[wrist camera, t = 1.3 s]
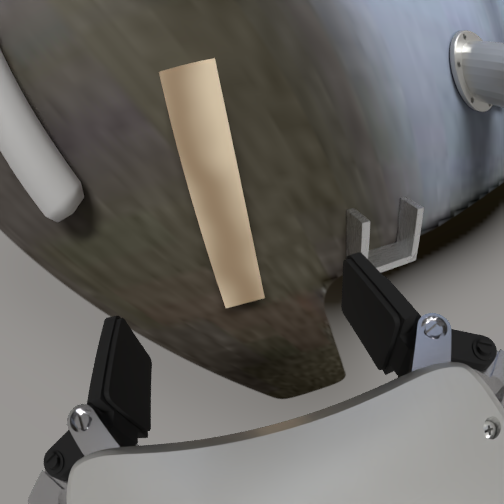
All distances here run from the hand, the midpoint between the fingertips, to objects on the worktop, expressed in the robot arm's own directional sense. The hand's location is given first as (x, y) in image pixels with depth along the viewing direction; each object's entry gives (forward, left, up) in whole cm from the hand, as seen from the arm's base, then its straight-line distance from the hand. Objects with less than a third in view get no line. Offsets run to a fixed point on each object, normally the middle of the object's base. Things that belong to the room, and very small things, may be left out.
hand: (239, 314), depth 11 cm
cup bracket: (-18, +9, -17) cm, 27 cm away
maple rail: (0, 0, -18) cm, 17 cm away
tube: (+17, -14, -18) cm, 28 cm away
